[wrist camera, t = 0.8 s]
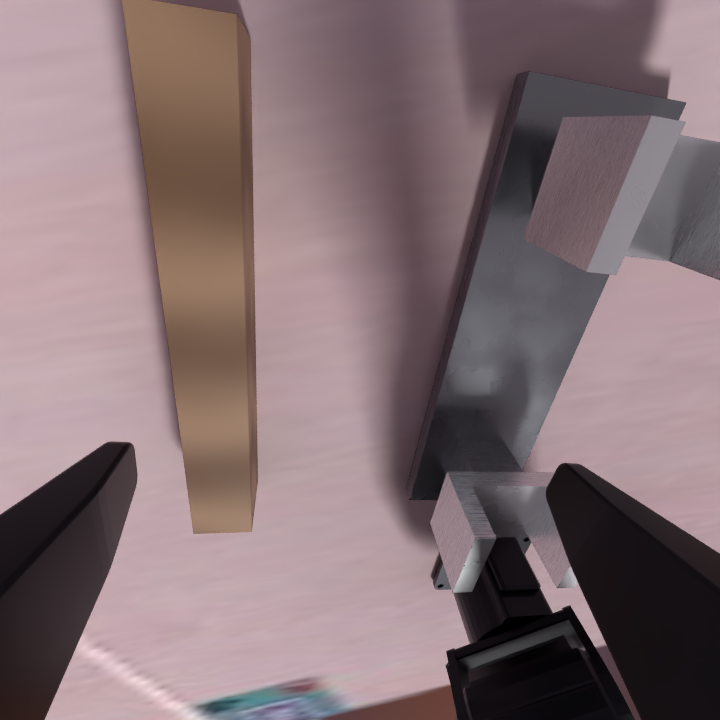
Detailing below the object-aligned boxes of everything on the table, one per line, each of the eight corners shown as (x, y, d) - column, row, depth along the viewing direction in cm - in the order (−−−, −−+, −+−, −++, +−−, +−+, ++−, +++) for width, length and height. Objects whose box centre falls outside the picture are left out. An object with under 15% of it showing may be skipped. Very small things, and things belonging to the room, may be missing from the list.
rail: (258, 477, 26) (251, 531, 22) (208, 477, 25) (193, 533, 22) (251, 39, 15) (236, 14, 12) (163, 25, 14) (121, -5, 11)
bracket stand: (502, 488, 29) (566, 604, 22) (406, 488, 27) (441, 610, 20) (667, 103, 17) (904, 91, 11) (517, 74, 16) (675, 38, 9)
